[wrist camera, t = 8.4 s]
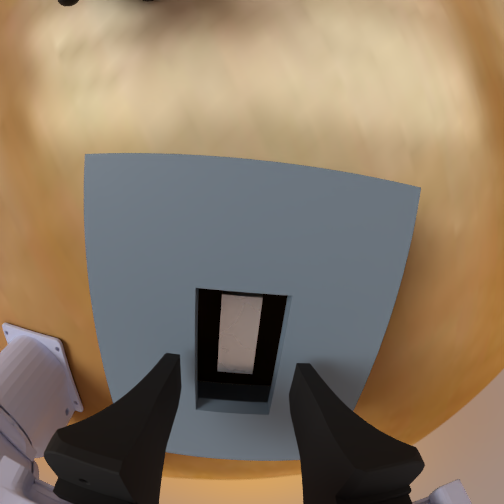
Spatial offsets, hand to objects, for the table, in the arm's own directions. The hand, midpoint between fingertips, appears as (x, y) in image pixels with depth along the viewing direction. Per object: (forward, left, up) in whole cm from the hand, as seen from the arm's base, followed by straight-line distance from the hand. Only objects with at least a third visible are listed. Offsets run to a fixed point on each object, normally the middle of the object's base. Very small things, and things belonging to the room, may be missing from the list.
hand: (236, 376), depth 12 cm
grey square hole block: (0, 0, -8) cm, 8 cm away
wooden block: (0, 0, -8) cm, 8 cm away
